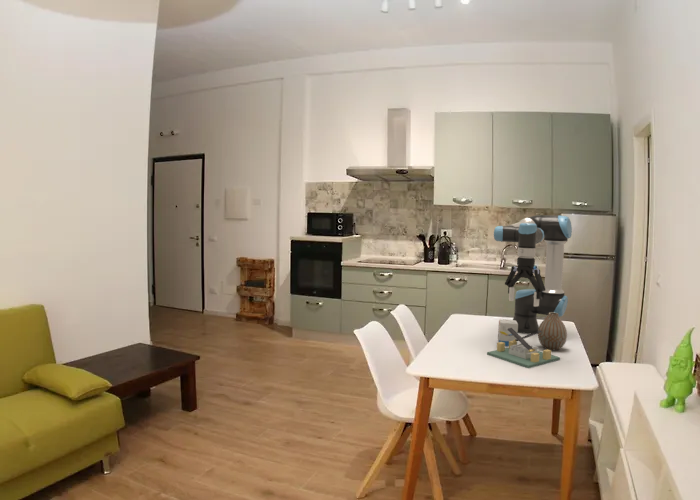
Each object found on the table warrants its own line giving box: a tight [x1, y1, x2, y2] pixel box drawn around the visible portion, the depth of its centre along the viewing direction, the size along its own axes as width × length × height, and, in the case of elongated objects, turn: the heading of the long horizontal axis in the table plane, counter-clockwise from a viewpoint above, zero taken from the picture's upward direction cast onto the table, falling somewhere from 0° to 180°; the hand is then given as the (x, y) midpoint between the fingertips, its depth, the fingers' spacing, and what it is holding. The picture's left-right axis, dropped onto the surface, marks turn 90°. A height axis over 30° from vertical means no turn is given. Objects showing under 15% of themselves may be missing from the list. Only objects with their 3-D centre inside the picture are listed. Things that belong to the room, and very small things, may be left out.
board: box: [486, 341, 561, 369], centre depth 219 cm, size 23×22×5 cm
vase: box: [537, 312, 568, 351], centre depth 235 cm, size 13×13×18 cm
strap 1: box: [508, 328, 535, 352], centre depth 216 cm, size 3×14×1 cm
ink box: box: [497, 318, 519, 347], centre depth 241 cm, size 8×8×12 cm
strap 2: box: [513, 331, 542, 342], centre depth 222 cm, size 3×14×1 cm, turn 34°
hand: (523, 303), depth 220 cm, fingers open, 13 cm apart
